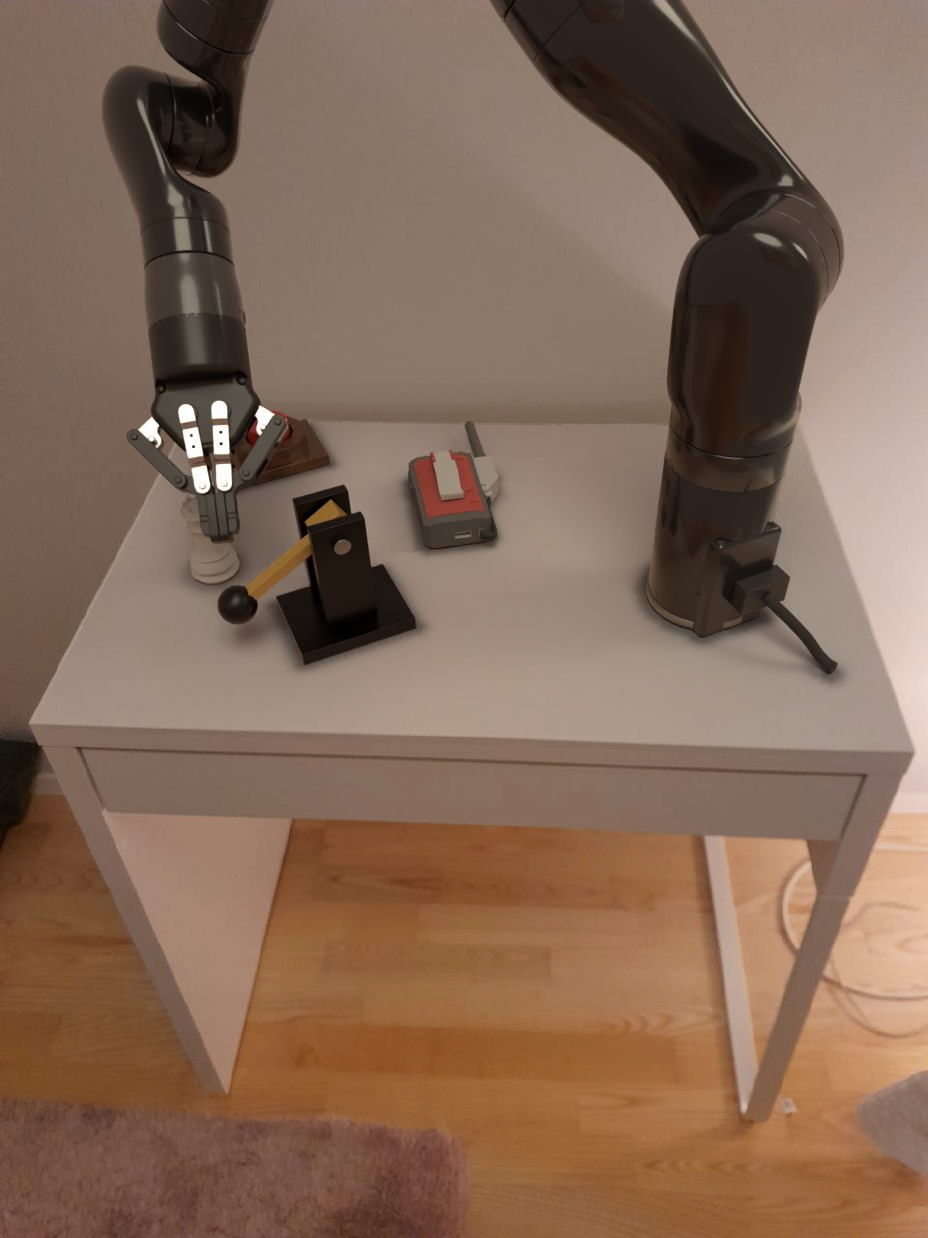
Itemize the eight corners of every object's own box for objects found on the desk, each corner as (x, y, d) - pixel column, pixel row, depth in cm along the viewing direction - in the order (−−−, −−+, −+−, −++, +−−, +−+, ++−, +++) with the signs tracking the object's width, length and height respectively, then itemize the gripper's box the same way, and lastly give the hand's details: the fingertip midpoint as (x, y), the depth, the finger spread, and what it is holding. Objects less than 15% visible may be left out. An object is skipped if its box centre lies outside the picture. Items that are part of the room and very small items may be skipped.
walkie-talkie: (518, 546, 88) (478, 432, 102) (518, 508, 85) (477, 396, 99) (425, 559, 87) (398, 442, 101) (422, 521, 84) (395, 406, 98)
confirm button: (284, 421, 100) (281, 406, 99) (295, 441, 98) (293, 426, 96) (243, 431, 99) (240, 416, 98) (254, 452, 96) (251, 437, 95)
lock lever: (240, 638, 76) (213, 620, 74) (231, 614, 78) (205, 595, 76) (362, 536, 75) (338, 514, 72) (349, 514, 77) (325, 492, 75)
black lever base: (304, 665, 78) (280, 555, 70) (278, 606, 83) (252, 497, 75) (416, 628, 80) (405, 518, 72) (383, 573, 86) (370, 465, 78)
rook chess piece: (250, 570, 87) (232, 500, 81) (208, 593, 85) (187, 522, 79) (224, 548, 89) (205, 479, 84) (182, 570, 87) (160, 500, 82)
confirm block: (307, 427, 104) (303, 403, 102) (330, 464, 99) (326, 440, 97) (219, 450, 102) (213, 426, 99) (237, 489, 96) (231, 465, 94)
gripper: (97, 318, 71) (124, 546, 70) (274, 300, 72) (301, 526, 71) (125, 350, 78) (150, 556, 78) (285, 334, 79) (310, 537, 79)
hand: (222, 541), depth 74 cm, fingers closed
